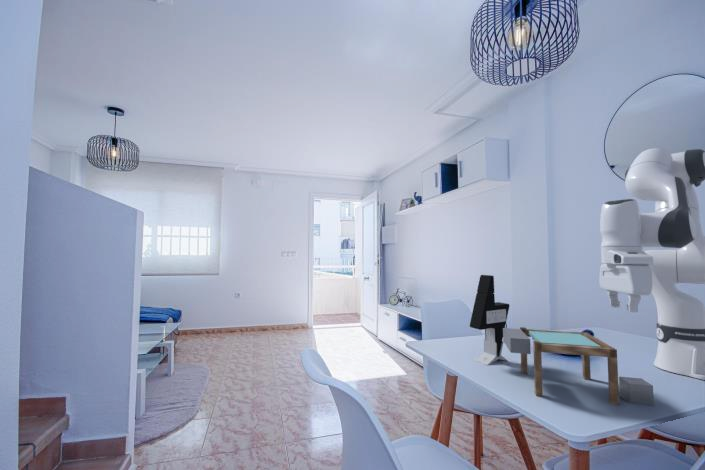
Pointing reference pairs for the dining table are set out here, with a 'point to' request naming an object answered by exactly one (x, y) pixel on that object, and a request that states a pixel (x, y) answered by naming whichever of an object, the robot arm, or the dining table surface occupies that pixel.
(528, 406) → the dining table surface
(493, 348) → the award
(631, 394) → the weight
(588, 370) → the frame
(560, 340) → the trapdoor
